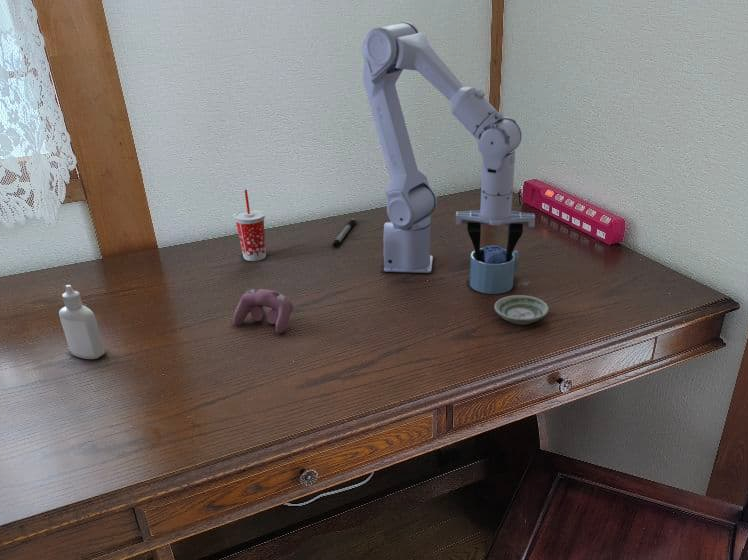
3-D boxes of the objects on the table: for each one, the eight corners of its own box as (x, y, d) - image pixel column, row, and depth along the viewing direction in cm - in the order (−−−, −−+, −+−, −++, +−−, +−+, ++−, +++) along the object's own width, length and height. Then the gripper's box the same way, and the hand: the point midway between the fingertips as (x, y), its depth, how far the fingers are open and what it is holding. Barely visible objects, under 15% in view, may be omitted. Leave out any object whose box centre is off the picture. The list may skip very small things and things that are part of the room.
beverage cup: (276, 255, 153) (268, 188, 145) (254, 264, 149) (245, 197, 141) (254, 248, 156) (245, 183, 148) (233, 258, 151) (222, 191, 144)
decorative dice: (505, 271, 140) (507, 252, 138) (486, 274, 139) (487, 254, 137) (498, 263, 143) (499, 244, 141) (479, 265, 142) (480, 246, 140)
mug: (492, 298, 138) (493, 268, 135) (460, 283, 143) (461, 254, 140) (531, 281, 145) (534, 252, 141) (500, 268, 150) (502, 240, 146)
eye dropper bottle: (80, 365, 116) (59, 296, 109) (68, 351, 119) (47, 283, 112) (108, 356, 118) (89, 288, 111) (95, 342, 122) (76, 276, 115)
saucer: (517, 301, 137) (518, 289, 136) (558, 319, 132) (559, 307, 130) (482, 317, 132) (483, 305, 130) (523, 336, 126) (524, 324, 125)
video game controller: (293, 334, 128) (298, 294, 127) (280, 334, 124) (285, 293, 123) (244, 324, 131) (248, 285, 130) (229, 324, 127) (234, 284, 125)
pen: (332, 247, 157) (331, 241, 156) (352, 220, 170) (352, 215, 170) (338, 248, 157) (337, 242, 156) (357, 221, 170) (357, 215, 170)
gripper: (456, 196, 130) (454, 268, 137) (538, 199, 129) (531, 270, 137) (457, 184, 135) (455, 253, 143) (535, 186, 135) (529, 255, 143)
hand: (492, 260), depth 140 cm, fingers closed on decorative dice, 5 cm apart
